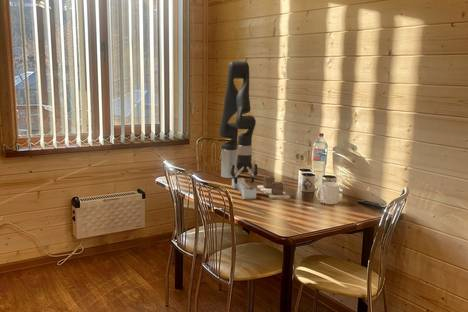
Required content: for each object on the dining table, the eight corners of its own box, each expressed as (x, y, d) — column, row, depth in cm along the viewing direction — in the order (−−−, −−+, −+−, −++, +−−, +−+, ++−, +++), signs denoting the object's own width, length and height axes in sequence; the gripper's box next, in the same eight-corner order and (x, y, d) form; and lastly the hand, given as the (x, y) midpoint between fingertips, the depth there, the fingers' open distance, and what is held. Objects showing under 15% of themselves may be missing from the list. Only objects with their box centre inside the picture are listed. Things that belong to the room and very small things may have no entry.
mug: (333, 199, 236) (335, 181, 234) (341, 204, 227) (342, 186, 226) (311, 199, 234) (312, 182, 232) (318, 205, 225) (319, 186, 223)
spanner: (231, 186, 256) (231, 178, 255) (242, 186, 257) (242, 177, 257) (244, 199, 231) (244, 190, 230) (256, 199, 233) (256, 189, 232)
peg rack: (256, 186, 257) (257, 174, 256) (273, 186, 260) (274, 174, 259) (271, 199, 233) (272, 186, 231) (290, 198, 235) (290, 185, 234)
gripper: (255, 152, 246) (254, 181, 248) (229, 152, 242) (229, 182, 245) (259, 154, 239) (258, 184, 241) (233, 154, 235) (232, 185, 238)
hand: (243, 183), depth 243 cm, fingers open, 8 cm apart
